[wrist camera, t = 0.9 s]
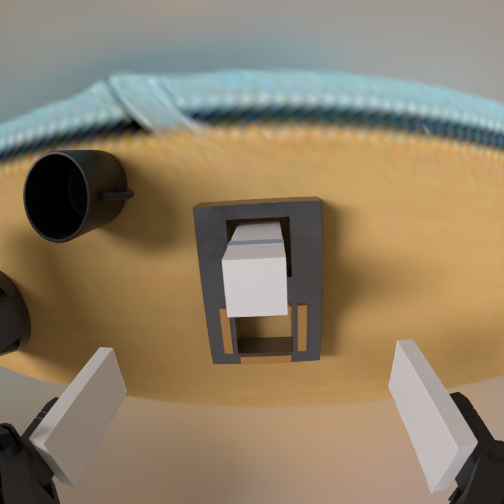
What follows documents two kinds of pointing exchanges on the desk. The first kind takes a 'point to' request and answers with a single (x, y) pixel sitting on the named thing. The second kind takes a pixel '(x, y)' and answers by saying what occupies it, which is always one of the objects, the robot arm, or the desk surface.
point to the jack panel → (298, 275)
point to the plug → (255, 271)
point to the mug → (73, 193)
